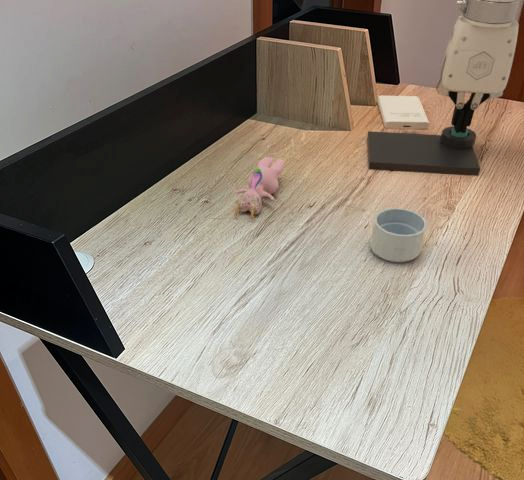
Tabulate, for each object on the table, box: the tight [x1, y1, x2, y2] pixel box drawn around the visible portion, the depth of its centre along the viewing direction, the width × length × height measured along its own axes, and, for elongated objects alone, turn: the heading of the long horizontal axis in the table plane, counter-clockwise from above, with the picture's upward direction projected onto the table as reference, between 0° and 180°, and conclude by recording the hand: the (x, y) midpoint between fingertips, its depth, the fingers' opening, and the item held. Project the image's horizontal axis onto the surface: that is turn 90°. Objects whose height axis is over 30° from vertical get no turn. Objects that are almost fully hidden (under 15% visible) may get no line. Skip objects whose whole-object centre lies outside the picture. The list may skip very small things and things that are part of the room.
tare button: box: [451, 127, 469, 138], centre depth 99 cm, size 3×3×2 cm
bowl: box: [369, 207, 428, 263], centre depth 78 cm, size 7×7×4 cm
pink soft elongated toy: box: [233, 156, 285, 222], centre depth 87 cm, size 6×6×15 cm
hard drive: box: [377, 94, 430, 130], centre depth 111 cm, size 2×8×12 cm
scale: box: [366, 125, 481, 177], centre depth 98 cm, size 18×12×3 cm
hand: (459, 129), depth 99 cm, fingers closed
